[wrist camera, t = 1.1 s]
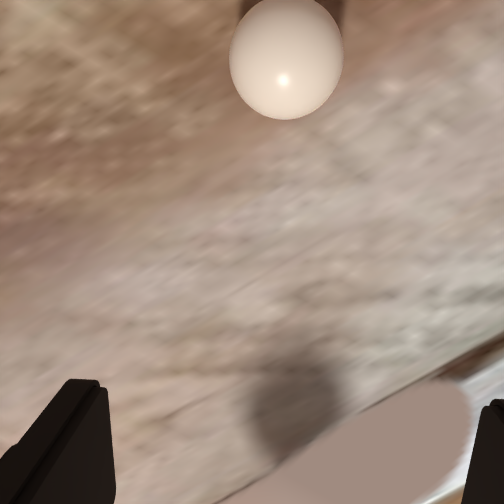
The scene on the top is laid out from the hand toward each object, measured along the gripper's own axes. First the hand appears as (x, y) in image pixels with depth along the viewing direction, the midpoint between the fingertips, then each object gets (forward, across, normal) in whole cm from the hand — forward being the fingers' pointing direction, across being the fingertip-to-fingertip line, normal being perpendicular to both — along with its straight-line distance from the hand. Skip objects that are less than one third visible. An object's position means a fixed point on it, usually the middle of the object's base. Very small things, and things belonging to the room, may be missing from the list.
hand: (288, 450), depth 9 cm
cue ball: (+15, 0, -9) cm, 18 cm away
